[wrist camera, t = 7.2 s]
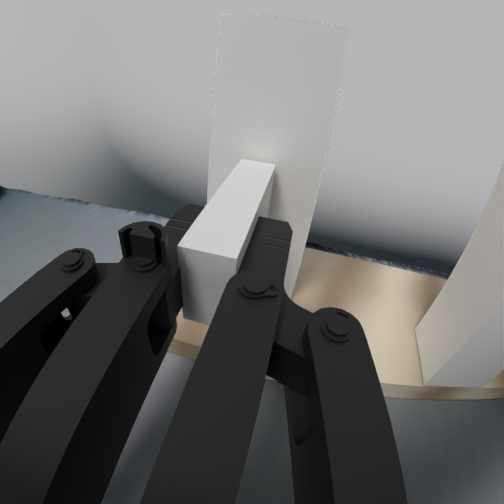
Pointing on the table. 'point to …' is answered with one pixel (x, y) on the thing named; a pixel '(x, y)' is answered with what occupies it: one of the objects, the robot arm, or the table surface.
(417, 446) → the table surface
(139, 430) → the table surface
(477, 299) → the white tall block
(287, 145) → the tile
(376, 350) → the key base
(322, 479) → the robot arm
